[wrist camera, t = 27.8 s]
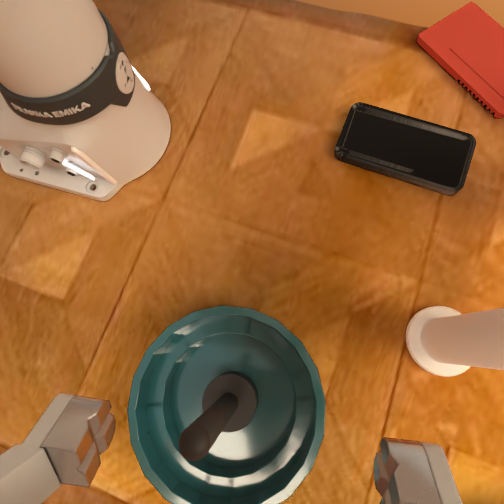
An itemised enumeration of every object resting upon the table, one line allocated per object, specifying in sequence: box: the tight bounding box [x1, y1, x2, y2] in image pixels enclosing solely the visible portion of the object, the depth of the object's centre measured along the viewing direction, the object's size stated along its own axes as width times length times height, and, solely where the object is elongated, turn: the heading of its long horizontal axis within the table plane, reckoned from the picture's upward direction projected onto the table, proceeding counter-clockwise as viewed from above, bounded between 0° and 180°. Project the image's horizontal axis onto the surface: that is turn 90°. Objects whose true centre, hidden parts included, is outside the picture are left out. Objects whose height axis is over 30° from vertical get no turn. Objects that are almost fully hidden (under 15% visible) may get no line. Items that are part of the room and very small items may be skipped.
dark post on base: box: [179, 371, 258, 461], centre depth 28 cm, size 5×5×18 cm
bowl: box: [127, 305, 326, 504], centre depth 34 cm, size 18×18×6 cm
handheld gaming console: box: [416, 2, 504, 118], centre depth 44 cm, size 9×1×15 cm
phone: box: [334, 102, 476, 195], centre depth 42 cm, size 8×1×15 cm
